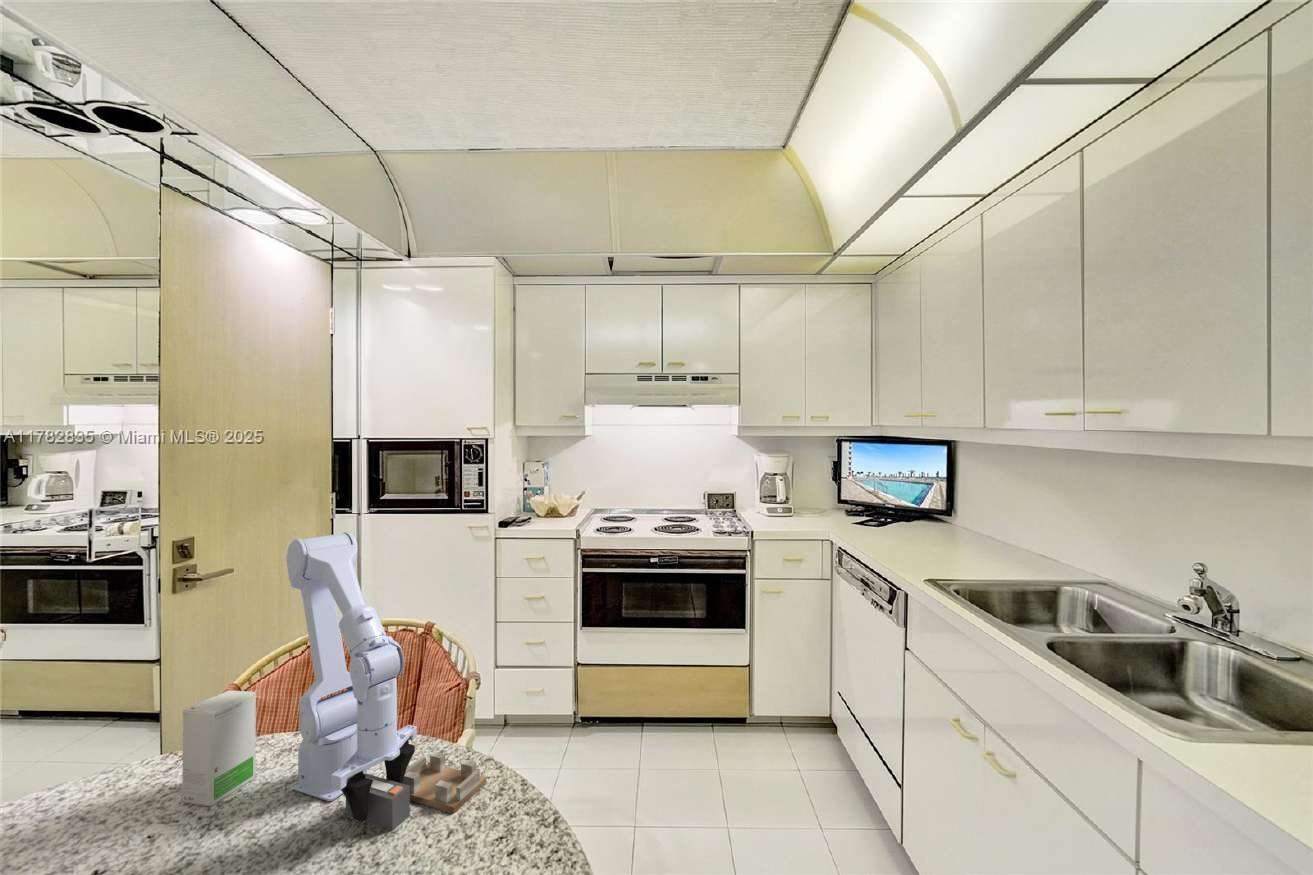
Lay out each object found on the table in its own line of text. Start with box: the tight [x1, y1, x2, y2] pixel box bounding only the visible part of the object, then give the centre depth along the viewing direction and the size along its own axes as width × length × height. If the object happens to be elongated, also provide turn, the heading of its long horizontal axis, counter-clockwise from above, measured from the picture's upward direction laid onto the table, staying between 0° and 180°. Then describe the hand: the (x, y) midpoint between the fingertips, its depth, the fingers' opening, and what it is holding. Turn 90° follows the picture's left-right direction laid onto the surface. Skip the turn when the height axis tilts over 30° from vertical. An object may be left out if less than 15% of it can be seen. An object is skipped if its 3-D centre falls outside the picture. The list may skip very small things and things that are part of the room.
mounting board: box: [402, 751, 487, 814], centre depth 89 cm, size 13×8×4 cm, turn 70°
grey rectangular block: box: [345, 773, 411, 832], centre depth 83 cm, size 10×3×5 cm, turn 70°
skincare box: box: [181, 690, 257, 807], centre depth 90 cm, size 8×7×16 cm
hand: (377, 805), depth 83 cm, fingers open, 6 cm apart
